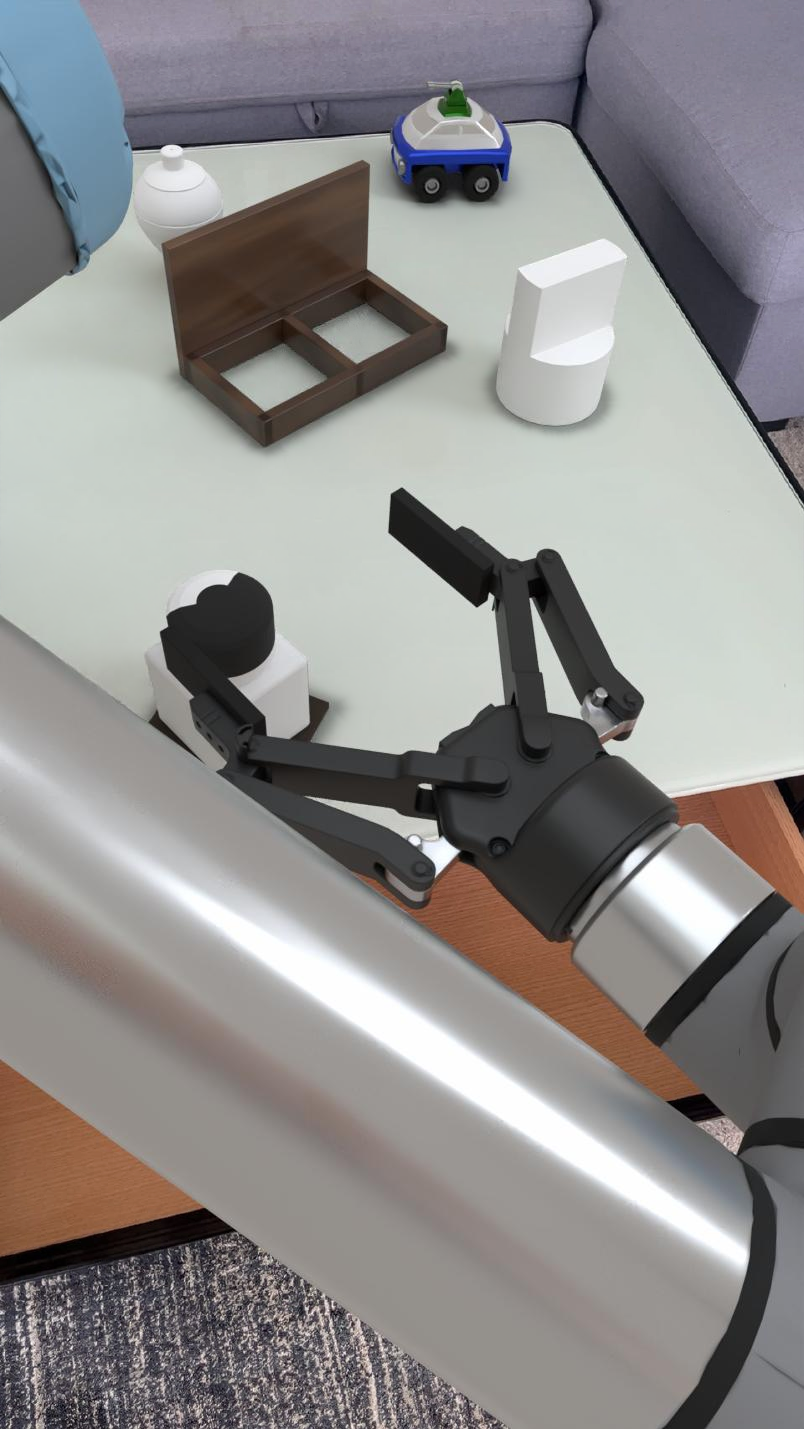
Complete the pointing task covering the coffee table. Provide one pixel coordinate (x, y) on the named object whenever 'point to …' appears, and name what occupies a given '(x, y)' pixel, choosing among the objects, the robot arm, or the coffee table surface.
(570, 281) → the base with upright slab
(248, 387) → the coffee table surface
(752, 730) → the coffee table surface
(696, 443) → the coffee table surface
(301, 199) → the rack
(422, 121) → the toy car
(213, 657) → the medicine bottle
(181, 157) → the spinning top
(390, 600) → the coffee table surface
